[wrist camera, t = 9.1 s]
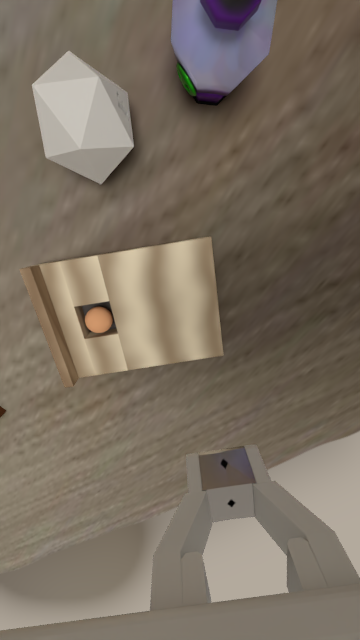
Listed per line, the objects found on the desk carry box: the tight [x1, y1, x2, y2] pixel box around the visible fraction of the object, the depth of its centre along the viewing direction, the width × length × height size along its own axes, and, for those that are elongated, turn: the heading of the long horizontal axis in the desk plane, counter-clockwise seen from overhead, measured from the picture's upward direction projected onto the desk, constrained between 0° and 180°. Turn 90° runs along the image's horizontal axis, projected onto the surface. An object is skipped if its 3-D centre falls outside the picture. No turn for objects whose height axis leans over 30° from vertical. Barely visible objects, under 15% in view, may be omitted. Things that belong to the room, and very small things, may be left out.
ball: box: [85, 307, 113, 333], centre depth 32 cm, size 4×4×4 cm
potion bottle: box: [171, 0, 277, 106], centre depth 20 cm, size 9×9×12 cm
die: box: [32, 51, 134, 184], centre depth 23 cm, size 8×9×10 cm
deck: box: [20, 236, 223, 388], centre depth 32 cm, size 22×16×4 cm
